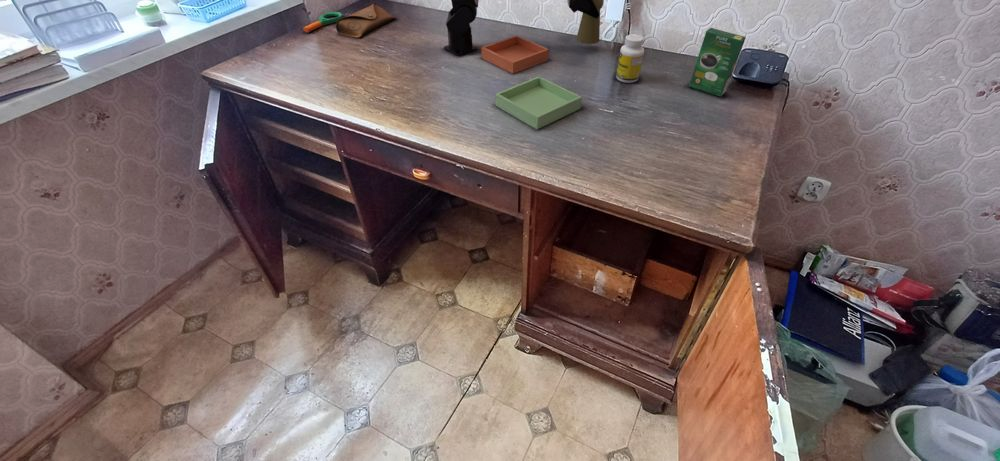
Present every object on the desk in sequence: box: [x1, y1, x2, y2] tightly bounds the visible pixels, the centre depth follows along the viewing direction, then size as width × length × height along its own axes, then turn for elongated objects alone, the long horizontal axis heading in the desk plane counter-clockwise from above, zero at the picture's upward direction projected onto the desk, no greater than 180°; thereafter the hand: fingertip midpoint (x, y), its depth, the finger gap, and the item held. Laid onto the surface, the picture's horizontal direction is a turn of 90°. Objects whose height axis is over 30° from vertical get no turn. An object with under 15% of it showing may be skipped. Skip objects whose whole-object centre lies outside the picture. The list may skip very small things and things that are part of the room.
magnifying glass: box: [302, 11, 343, 33], centre depth 138 cm, size 15×6×2 cm, turn 158°
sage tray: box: [495, 76, 583, 130], centre depth 101 cm, size 13×13×3 cm
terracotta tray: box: [480, 35, 550, 74], centre depth 120 cm, size 12×12×3 cm
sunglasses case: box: [335, 2, 397, 39], centre depth 137 cm, size 18×7×7 cm, turn 154°
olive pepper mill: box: [576, 0, 605, 45], centre depth 119 cm, size 6×6×11 cm
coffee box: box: [688, 27, 747, 98], centre depth 103 cm, size 8×3×13 cm, turn 50°
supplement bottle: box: [615, 33, 645, 84], centre depth 109 cm, size 5×5×10 cm
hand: (596, 13), depth 119 cm, fingers closed on olive pepper mill, 5 cm apart
